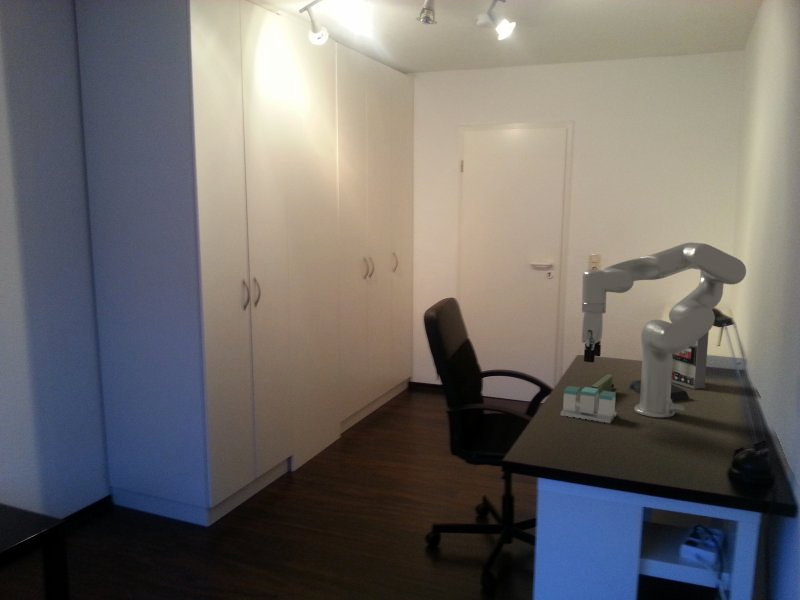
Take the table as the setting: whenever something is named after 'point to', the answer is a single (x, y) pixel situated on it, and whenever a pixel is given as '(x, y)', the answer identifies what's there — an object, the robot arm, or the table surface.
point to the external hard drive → (676, 391)
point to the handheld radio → (604, 384)
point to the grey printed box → (691, 364)
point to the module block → (589, 400)
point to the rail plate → (601, 415)
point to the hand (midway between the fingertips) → (592, 358)
